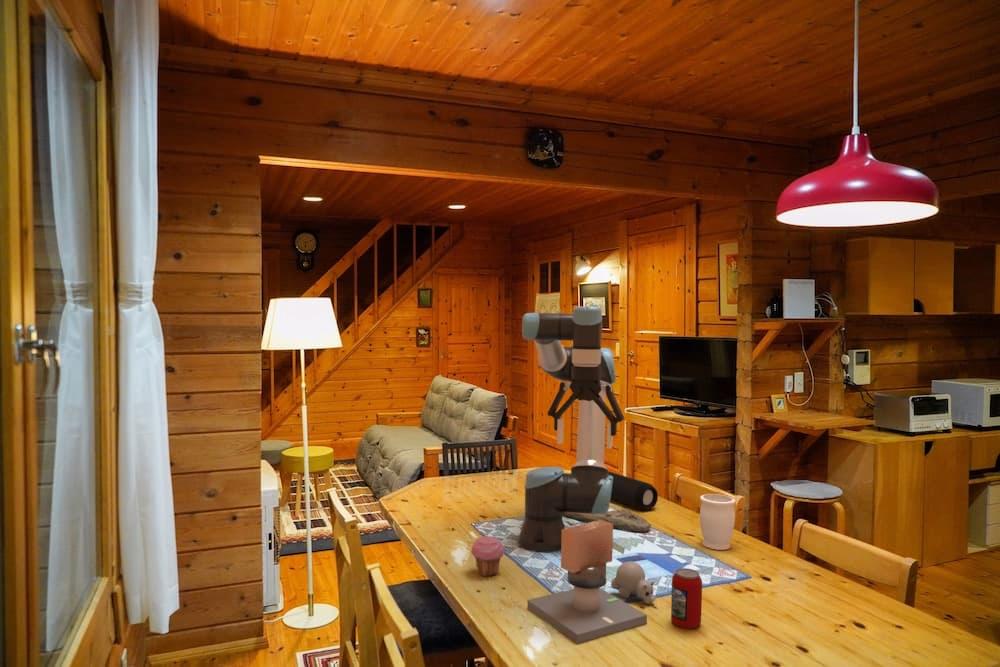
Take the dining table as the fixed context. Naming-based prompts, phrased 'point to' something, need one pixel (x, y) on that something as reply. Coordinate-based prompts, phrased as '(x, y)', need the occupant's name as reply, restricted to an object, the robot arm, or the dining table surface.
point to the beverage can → (686, 598)
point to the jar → (717, 520)
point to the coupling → (587, 553)
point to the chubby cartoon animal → (633, 582)
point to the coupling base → (586, 613)
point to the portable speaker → (633, 492)
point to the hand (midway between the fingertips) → (584, 445)
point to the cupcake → (487, 554)
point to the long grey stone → (615, 519)
